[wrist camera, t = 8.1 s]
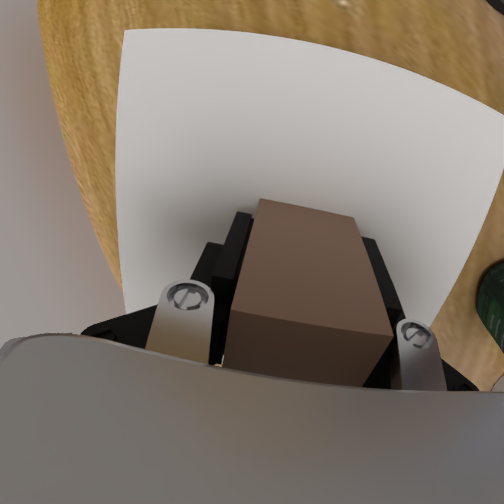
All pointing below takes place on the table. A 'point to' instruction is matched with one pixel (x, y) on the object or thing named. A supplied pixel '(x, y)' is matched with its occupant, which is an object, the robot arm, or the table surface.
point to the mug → (499, 385)
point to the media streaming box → (497, 5)
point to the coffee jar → (493, 303)
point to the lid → (297, 189)
